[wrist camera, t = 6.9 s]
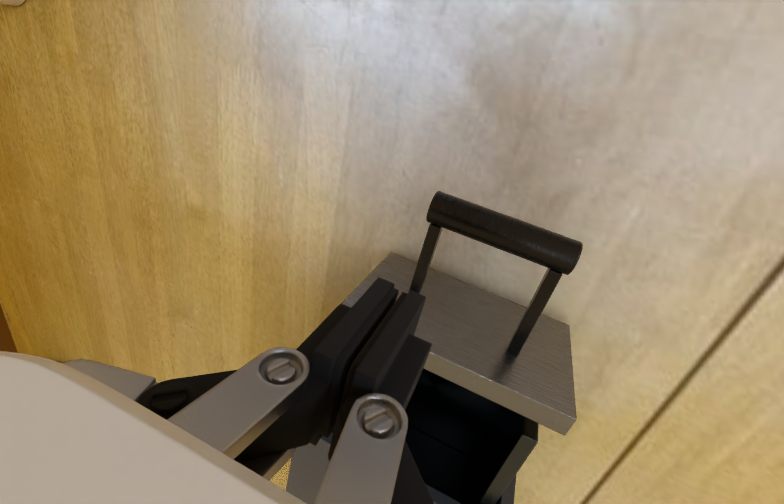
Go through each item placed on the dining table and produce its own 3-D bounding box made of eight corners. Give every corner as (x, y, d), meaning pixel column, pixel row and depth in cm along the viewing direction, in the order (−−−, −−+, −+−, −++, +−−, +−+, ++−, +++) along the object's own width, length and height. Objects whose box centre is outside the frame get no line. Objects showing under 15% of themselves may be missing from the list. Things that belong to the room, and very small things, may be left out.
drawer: (416, 157, 23) (361, 186, 16) (627, 229, 20) (664, 300, 14) (352, 391, 33) (302, 468, 26) (487, 460, 30) (469, 565, 24)
